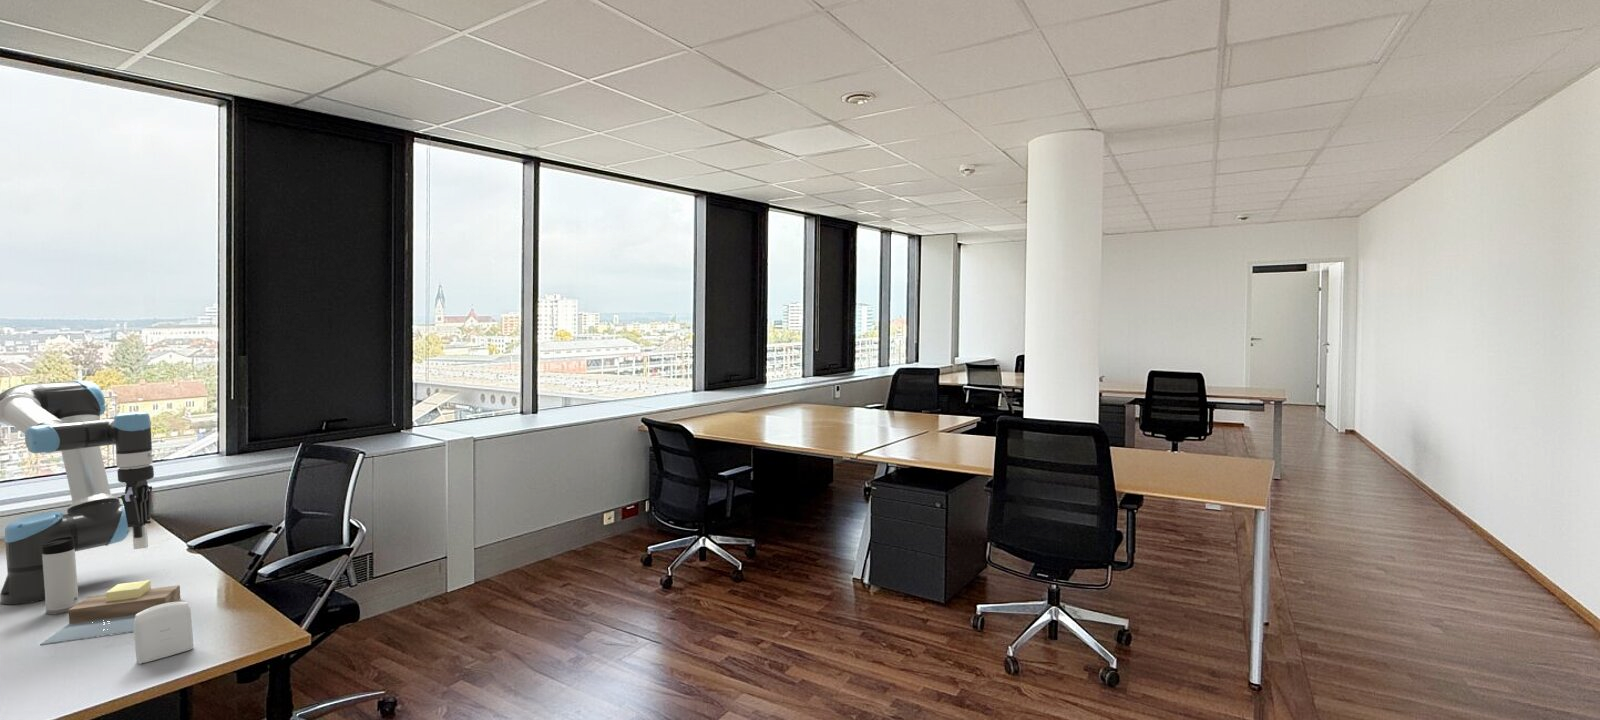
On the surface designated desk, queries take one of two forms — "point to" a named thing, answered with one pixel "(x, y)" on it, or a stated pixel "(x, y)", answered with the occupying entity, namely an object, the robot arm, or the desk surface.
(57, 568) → the travel mug
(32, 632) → the desk surface
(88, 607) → the brown wooden block
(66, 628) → the rubber mat
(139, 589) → the note pad
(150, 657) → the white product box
